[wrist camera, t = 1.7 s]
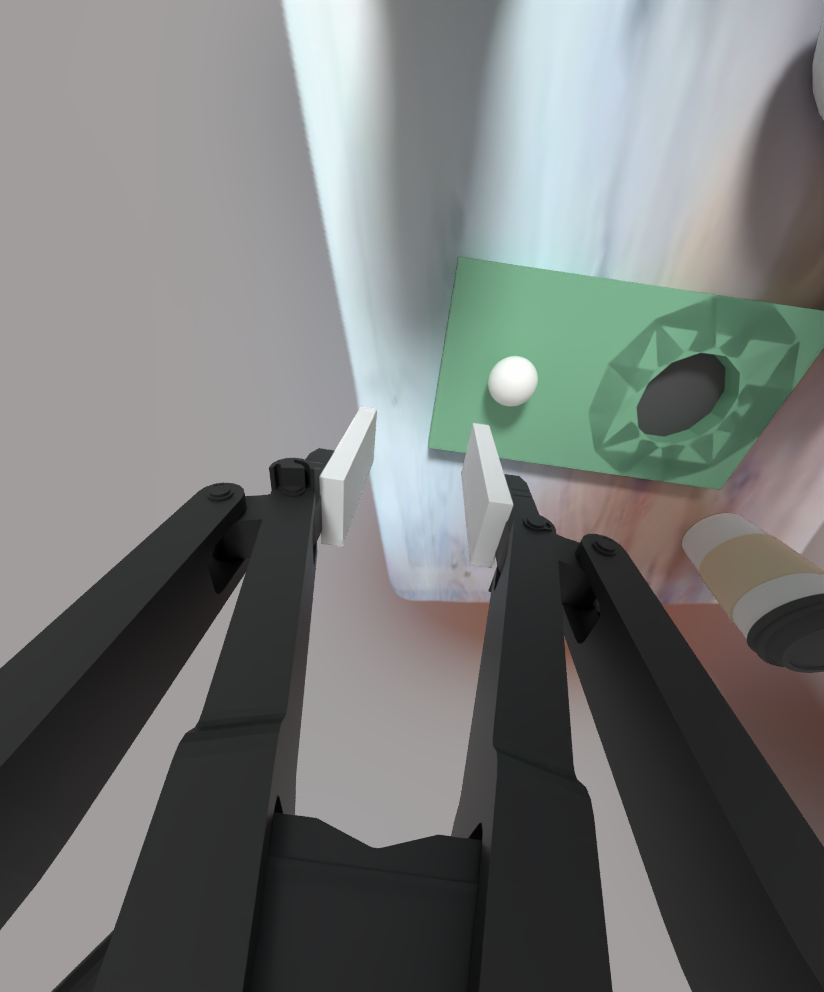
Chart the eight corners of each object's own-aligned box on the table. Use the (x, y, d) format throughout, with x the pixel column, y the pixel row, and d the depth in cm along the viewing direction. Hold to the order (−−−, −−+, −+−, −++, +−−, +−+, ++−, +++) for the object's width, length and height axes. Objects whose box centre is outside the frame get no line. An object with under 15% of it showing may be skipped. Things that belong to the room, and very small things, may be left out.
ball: (491, 348, 30) (498, 358, 26) (538, 355, 30) (550, 366, 26) (481, 394, 32) (485, 409, 28) (524, 401, 32) (533, 416, 29)
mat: (458, 257, 28) (459, 256, 26) (823, 311, 28) (847, 314, 27) (428, 439, 37) (428, 447, 35) (707, 479, 37) (720, 489, 35)
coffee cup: (654, 551, 43) (742, 669, 30) (712, 494, 38) (845, 605, 25) (715, 572, 44) (825, 694, 31) (779, 519, 39) (940, 637, 26)
